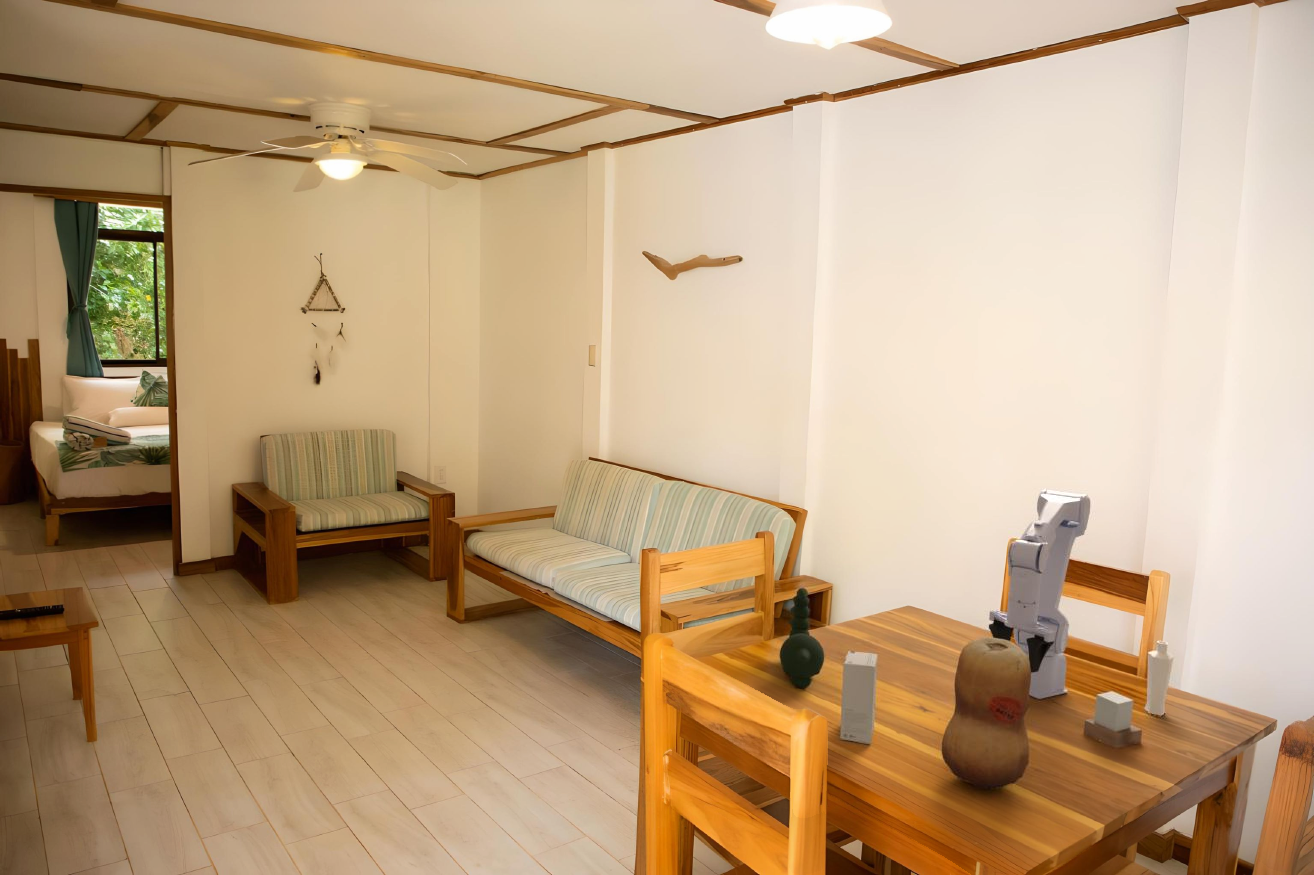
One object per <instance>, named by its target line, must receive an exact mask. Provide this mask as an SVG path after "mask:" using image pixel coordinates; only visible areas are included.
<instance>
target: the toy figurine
mask: <svg viewBox="0 0 1314 875" xmlns="http://www.w3.org/2000/svg"><path fill="white" fill-rule="evenodd" d="M808 596H809V592H808V589H806V588H804V587H801V588H798V589H797V591H796V594H795V596H793V598H792V601H793V605H794V606H792V607H791V608H790V612H791V613H792V618H791V619H790V620H789V622H788V624H789V625H790V627H791V629H790V631H789V635H788V636H789V637H787V638H786V639H785V640H784V642H782V645H781V646H780V649H779V660H780V661H779V662H780V664H781V666H782V671H783V673H784V674H786V675H789V676H790V683H791V685H792V686H793V687H795V688H798V687H799V688H800V689H804V688H808V687H809V686H810V685H811V682H812V680H811V679H812V677H814V676H818V675H819V674H820V672H821V670H822V668H823V665H824V663H825V652H824V648H823V646H822V644H821V643H820V641H819V640H817V638H815V637H813V636H812V635H811V634H810V631H809V628H810V626H811V622H810V620H809V616H810V613H811V609H810V608H809V603H810V599H809V598H808Z"/></svg>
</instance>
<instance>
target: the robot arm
mask: <svg viewBox="0 0 1314 875" xmlns="http://www.w3.org/2000/svg"><path fill="white" fill-rule="evenodd" d="M1036 511H1037V515H1038V519H1037V520H1035V521H1031V523H1030V524H1029V525H1028V526H1027V528H1026V529H1025V530H1024V532H1023V533H1022V535H1021V537H1020V538H1019V539H1015V541H1012V542H1011V543H1010V544H1009V546H1008V552H1007V565H1008V569H1007V570H1008V571H1007V572H1008V576H1009V589H1008V599H1007V611H1006V612H1004V611H1001V610H997V609H996V610H990V611H989V614H988V615H989V619H988V620H989V621H991V622H992V623H989V624H988V629H989V631H990V633H991V635H992V638H997V639H1004V640H1008V641H1010V642H1011V639H1012V636H1013V639H1014V642H1015V644H1016V645H1017V646H1018V647H1020V648H1021V649H1022V650H1023V651H1024V652H1025V654H1026V655H1027V656H1028V658H1029V662H1030V669H1031V684H1030V691H1029V697H1030V696H1031V697H1033V698H1035V699H1038V700H1040V699H1041V700H1042V699H1046V698H1050V697H1053V696H1054V697H1055V696H1058V695H1063V694H1067V693H1069V692H1068V689H1066V688H1065V685H1066V684H1065V683H1066V674H1067V665H1068V664H1067V658H1066V656H1065V654H1064V652H1065V650H1066V648H1067V645H1068V638H1069V628H1070V624H1069V621H1068V618H1067V617H1066V616H1065V615H1064V613H1062V612H1061V611H1060V609H1059V607H1060V601H1061V597H1062V592H1063V589H1064V585H1065V584H1064V583H1065V580H1066V575H1067V570H1068V566H1069V562H1070V557H1071V553H1072V549H1073V546H1074V543H1075V541H1076V538H1079V537H1081V536H1084V535H1085V532H1086V530H1087V528H1088V527H1087V526H1088V522H1089V517H1090V513H1091V498H1090V497H1089V496H1088V495H1087V494H1077V493H1070V492H1062V491H1056V490H1054V491H1053V490H1048V489H1042V491H1040V493H1039V495H1038V498H1037V502H1036Z"/></svg>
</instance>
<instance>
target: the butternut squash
mask: <svg viewBox="0 0 1314 875" xmlns="http://www.w3.org/2000/svg"><path fill="white" fill-rule="evenodd" d="M1030 684H1031V669H1030V662H1029V658H1028V656H1027V655H1026V654H1025V652H1024V651H1023V650H1022V649H1021V648H1020V647H1019V645H1018V644H1017V643H1014V642H1012V641H1011V640H1010V641H1008V640H1004V639H997V638H993V636H992V637H990V636H987V637H986V636H985V637H979V638H977V639H974V640H971V641H969V642H968V643H967V644H965V645H964V647H963V648H962V650H961V652H960V654H959V656H958V663H957V667H956V672H955V675H954V684H953V686H954V701H955V702H954V704H955V705H954V712H953V714H952V717H950V720H949V722H948V724H947V726H946V728H945V730H944V733H943V736H942V741H941V755H942V760H943V761H944V763H945V764H946V765H947V767H948V768H949V769H950V771H951V773H952V774H953V775H954V776H956V777H957V778H958V779H960V780H963V781H965V782H967V783H970V784H972V785H974V786H975V787H976V788H978V789H981V790H982V789H983V790H994V789H998V788H1003V787H1007V786H1009V785H1012V784H1015V783H1016V782H1017V781H1018V780H1020V779H1022V778H1023V776H1024V773H1025V771H1026V770H1027V766H1029V764H1030V744H1029V737H1028V733H1027V729H1026V726H1025V715H1026V714H1027V712H1028V710H1029V707H1030V695H1029V691H1030Z"/></svg>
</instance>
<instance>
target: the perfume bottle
mask: <svg viewBox="0 0 1314 875" xmlns="http://www.w3.org/2000/svg"><path fill="white" fill-rule="evenodd" d="M1168 644H1169V642H1167V641H1163V640H1157V641H1156V647H1155V650H1151V651H1148V652H1147V681H1146V682H1147V683H1146V684H1147V690H1146V693H1147V694H1146V704H1145V706H1144V709H1145V710H1146V711H1148V713H1152V714H1158V715H1163V714H1164V713H1165V714H1166V710H1165V704H1166V698H1167V693H1168V687H1169V683H1170V677H1171V672H1172V668H1173V667H1172V666H1173V663H1174V662H1173V661H1174V655H1172V654H1171V653H1169V652H1168ZM1145 710H1144V711H1145ZM1146 711H1145V712H1146ZM1148 713H1147V714H1148Z"/></svg>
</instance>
